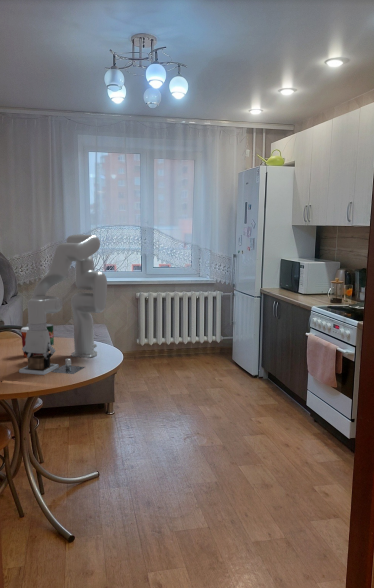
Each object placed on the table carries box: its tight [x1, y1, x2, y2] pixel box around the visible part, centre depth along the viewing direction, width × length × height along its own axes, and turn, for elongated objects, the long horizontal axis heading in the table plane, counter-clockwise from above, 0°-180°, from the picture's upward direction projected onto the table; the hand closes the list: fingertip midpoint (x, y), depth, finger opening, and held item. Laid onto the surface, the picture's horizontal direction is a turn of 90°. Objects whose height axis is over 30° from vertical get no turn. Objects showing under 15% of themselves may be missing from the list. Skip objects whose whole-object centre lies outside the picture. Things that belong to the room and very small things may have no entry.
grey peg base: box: [50, 357, 86, 375], centre depth 208 cm, size 11×11×6 cm
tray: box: [18, 363, 60, 376], centre depth 208 cm, size 12×12×2 cm
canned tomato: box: [47, 323, 55, 346], centre depth 259 cm, size 8×8×11 cm
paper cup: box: [20, 326, 29, 358], centre depth 236 cm, size 8×8×14 cm
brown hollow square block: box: [27, 355, 50, 371], centre depth 208 cm, size 7×8×4 cm
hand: (39, 366), depth 208 cm, fingers closed on brown hollow square block, 6 cm apart
